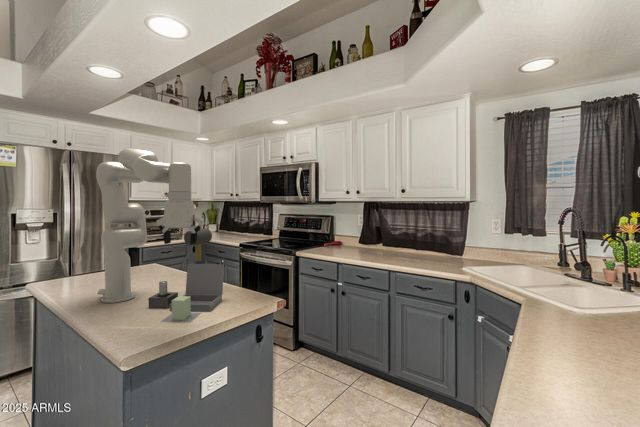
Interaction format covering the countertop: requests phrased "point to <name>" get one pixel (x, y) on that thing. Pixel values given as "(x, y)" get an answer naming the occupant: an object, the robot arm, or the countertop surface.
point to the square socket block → (162, 300)
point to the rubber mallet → (198, 241)
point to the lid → (205, 279)
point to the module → (181, 308)
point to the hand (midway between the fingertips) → (180, 243)
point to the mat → (188, 319)
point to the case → (203, 302)
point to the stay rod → (163, 289)
